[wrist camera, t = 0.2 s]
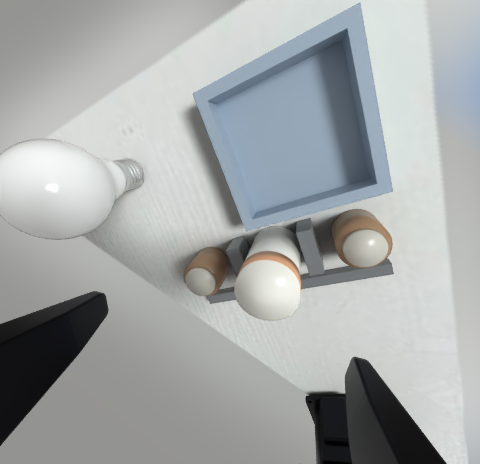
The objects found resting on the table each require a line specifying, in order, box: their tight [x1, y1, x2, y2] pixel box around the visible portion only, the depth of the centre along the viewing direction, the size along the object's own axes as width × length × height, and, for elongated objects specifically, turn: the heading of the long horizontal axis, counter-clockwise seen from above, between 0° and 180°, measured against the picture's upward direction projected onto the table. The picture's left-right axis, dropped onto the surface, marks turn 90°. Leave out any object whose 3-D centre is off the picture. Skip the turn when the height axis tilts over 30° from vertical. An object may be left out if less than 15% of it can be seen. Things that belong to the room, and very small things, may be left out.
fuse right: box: [332, 209, 393, 268], centre depth 18 cm, size 4×4×4 cm
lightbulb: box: [0, 139, 144, 240], centre depth 17 cm, size 6×6×11 cm
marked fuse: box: [234, 226, 301, 321], centre depth 19 cm, size 4×4×7 cm
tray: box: [193, 3, 393, 231], centre depth 17 cm, size 11×11×2 cm
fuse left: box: [184, 247, 230, 296], centre depth 22 cm, size 4×4×4 cm
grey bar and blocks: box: [207, 218, 394, 304], centre depth 21 cm, size 6×18×2 cm, turn 112°
